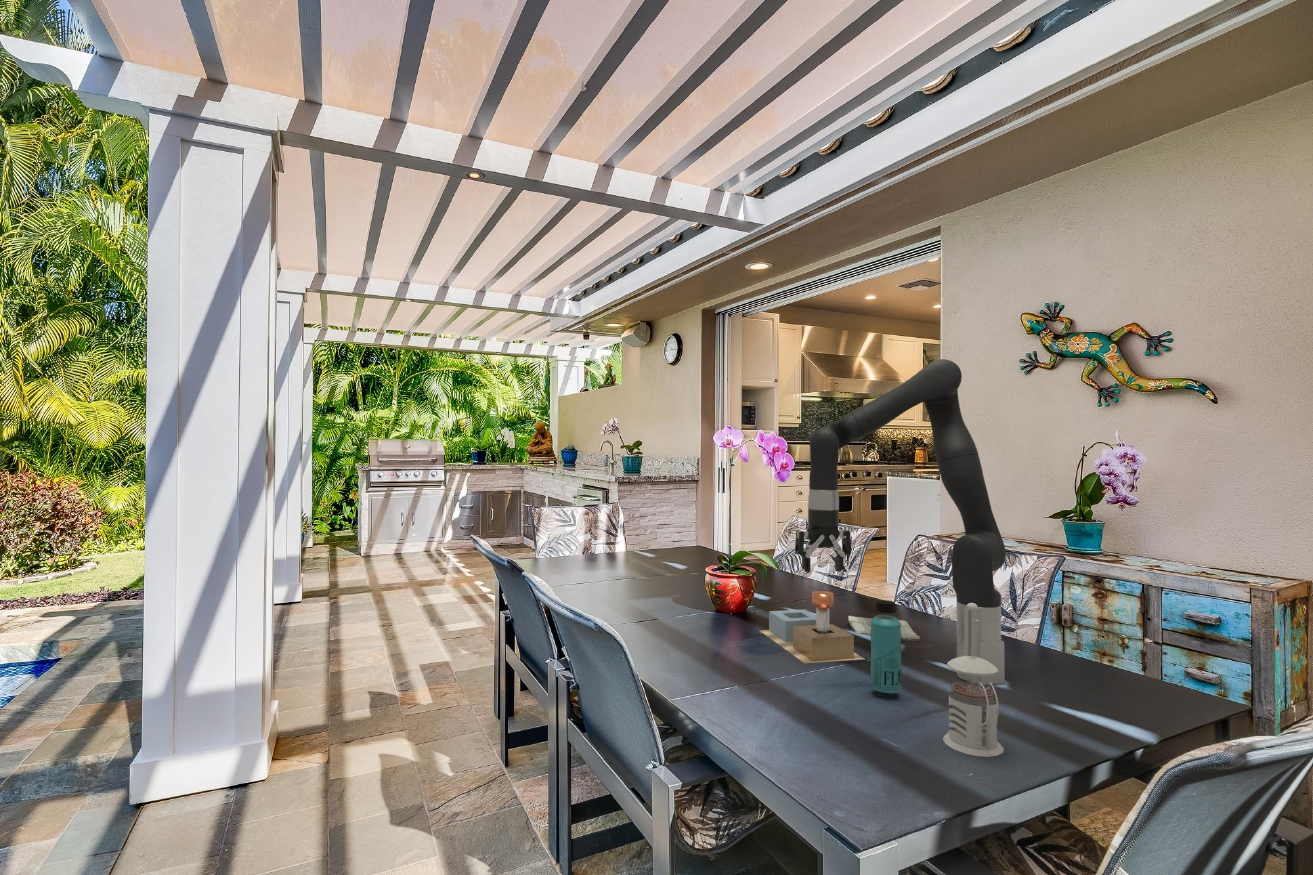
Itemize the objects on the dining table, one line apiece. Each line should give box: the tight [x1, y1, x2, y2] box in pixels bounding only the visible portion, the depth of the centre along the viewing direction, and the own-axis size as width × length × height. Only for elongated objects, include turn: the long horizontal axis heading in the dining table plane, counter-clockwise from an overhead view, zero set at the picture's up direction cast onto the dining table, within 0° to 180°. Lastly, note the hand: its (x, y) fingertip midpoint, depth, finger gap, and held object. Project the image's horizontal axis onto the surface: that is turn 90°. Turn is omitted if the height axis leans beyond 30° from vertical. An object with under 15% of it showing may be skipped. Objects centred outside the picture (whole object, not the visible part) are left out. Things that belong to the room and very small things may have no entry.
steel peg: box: [811, 590, 834, 634], centre depth 162 cm, size 5×5×15 cm
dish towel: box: [847, 615, 921, 642], centre depth 188 cm, size 19×18×3 cm
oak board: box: [759, 629, 865, 664], centre depth 170 cm, size 29×16×2 cm, turn 12°
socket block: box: [768, 609, 816, 642], centre depth 178 cm, size 11×11×6 cm
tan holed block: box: [793, 623, 855, 661], centre depth 162 cm, size 11×11×6 cm
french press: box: [942, 603, 1005, 758], centre depth 115 cm, size 10×12×25 cm
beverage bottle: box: [869, 599, 903, 694], centre depth 138 cm, size 6×7×20 cm
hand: (822, 571), depth 163 cm, fingers open, 8 cm apart
